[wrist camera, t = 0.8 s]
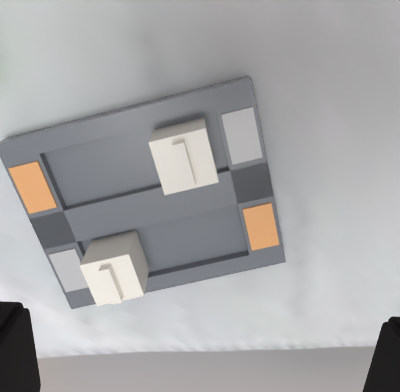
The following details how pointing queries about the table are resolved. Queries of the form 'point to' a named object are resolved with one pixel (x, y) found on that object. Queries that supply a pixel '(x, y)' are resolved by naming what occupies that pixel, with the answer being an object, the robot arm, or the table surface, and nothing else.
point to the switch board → (150, 190)
